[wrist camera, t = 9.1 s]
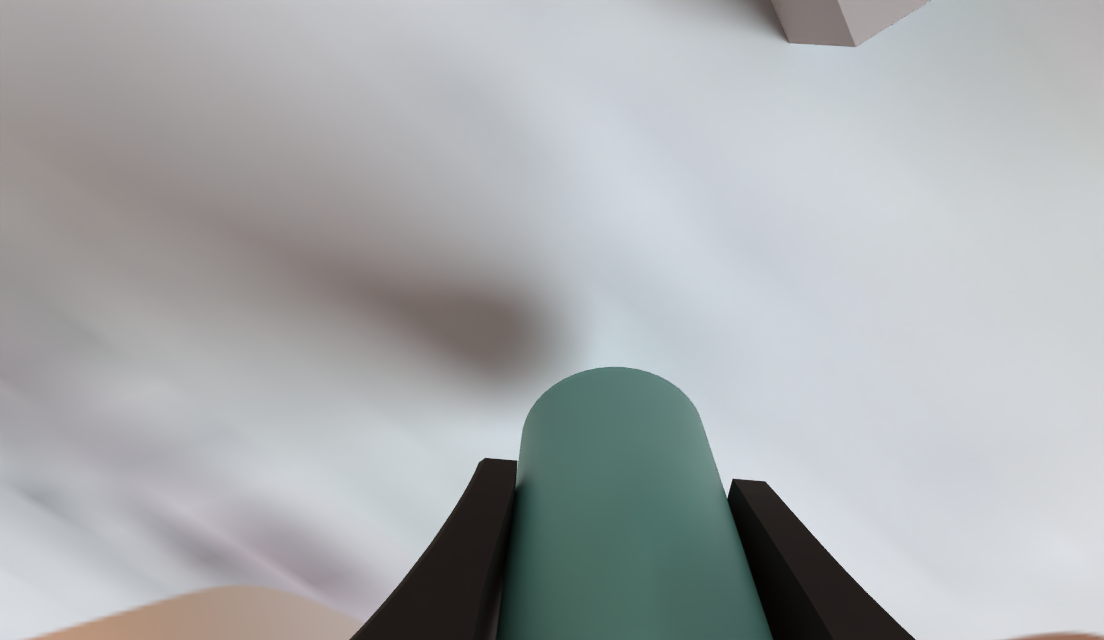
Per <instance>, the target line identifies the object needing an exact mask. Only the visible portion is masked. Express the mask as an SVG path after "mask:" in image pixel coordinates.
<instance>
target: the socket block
mask: <svg viewBox="0 0 1104 640" xmlns="http://www.w3.org/2000/svg"><path fill="white" fill-rule="evenodd" d="M770 1H771V3H772V5H773V8H774V10H775V12H776V14H777V17H778V19H779V21H780V23H781V26H782V28H783V30H784V32H785V35H786V37H787V39H788V42H789V43H797V44H814V45H832V46H850V47H857V46H858V45H860V44H861V43H863V42H865V41H866V40H868V39H869V38H871V37H873V36H874V35H876V34H877V33H879V32H881V31H882V30H884V29H885V28H887V27H889V26H890V25H892V24H893V23H895V22H897V21H898V20H900V19H902V18H903V17H905V16H906V15H908V14H910V13H911V12H913V11H914V10H916V9H918V8H919V7H921V6H922V5H924V4H926V3H927V2H929V1H930V0H770Z"/></svg>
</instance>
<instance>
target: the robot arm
mask: <svg viewBox="0 0 1104 640" xmlns="http://www.w3.org/2000/svg"><path fill="white" fill-rule="evenodd" d="M516 475H517V461H515V460H503V459H491V458H485V459H483V460H482V461H480V462H479V464H478V466H477V468H476V471H475V473H474V475H473V477H472V479H471V481H470V482H469V484H468V486H467V488H466V490H465V491H464V493H463V495H462V497H461V498H460V500H459V501H458V503H457V505H456V506H455V508H454V510H453V511H452V513H451V514H450V516H449V517H448V519H447V520H446V522H445V523H444V525H443V526H442V528H441V529H440V531H439V532H438V534H437V535H436V537H435V538H434V539H433V541H432V542H431V544H430V545H429V546H428V548H427V549H426V550H425V552H424V553H423V554H422V556H421V557H420V558H419V559H418V561H417V562H416V563H415V565H414V566H413V567H412V569H411V570H410V571H409V573H408V574H407V575H406V576H405V578H404V579H403V580H402V581H401V583H400V584H399V585H398V586H397V588H396V589H395V590H394V591H393V592H392V594H391V595H390V596H389V597H388V598H387V599H386V601H385V602H384V603H383V604H382V605H381V606H380V607H379V609H378V610H377V611H376V612H375V613H374V614H373V615H372V616H371V617H370V619H369V620H368V621H367V622H366V623H365V624H364V625H363V626H362V627H361V628H360V629H359V631H357V633H356V634H355V635H354V636H353V637H352V638H351V639H350V640H496V633H497V625H498V617H499V609H500V602H501V594H502V586H503V578H504V570H505V563H506V555H507V548H508V541H509V535H510V530H511V522H512V514H513V506H514V498H515V490H516ZM727 500H728V503H729V506H730V510H731V513H732V516H733V519H734V522H735V525H736V528H737V531H738V534H739V537H740V540H741V543H742V546H743V549H744V552H745V555H746V558H747V561H748V564H749V568H750V571H751V574H752V577H753V580H754V583H755V586H756V589H757V592H758V595H759V598H760V601H761V604H762V607H763V610H764V613H765V616H766V619H767V622H768V625H769V629H770V632H771V635H772V638H773V640H915V639H914V638H913V637H912V636H911V635H910V634H909V633H908V632H907V631H906V630H905V629H904V628H902V627H901V626H900V625H899V624H898V623H897V622H896V621H895V620H894V619H893V618H892V617H891V616H890V615H889V614H888V613H887V612H886V611H885V610H884V609H883V608H882V607H881V606H880V605H879V604H878V603H877V602H876V601H875V600H874V599H873V598H872V597H871V596H870V595H869V594H868V593H867V592H866V591H865V590H864V589H863V588H862V587H861V586H860V585H859V584H858V583H857V582H856V581H855V580H854V579H853V578H852V577H851V576H850V575H849V574H848V573H847V572H846V571H845V570H844V568H843V567H842V566H841V565H840V564H839V563H838V562H837V561H836V560H835V559H834V558H833V557H832V556H831V554H830V553H829V552H828V551H827V550H826V549H825V548H824V547H823V546H822V545H821V544H820V542H819V541H818V540H817V539H816V538H815V537H814V536H813V535H812V534H811V532H810V531H809V530H808V529H807V528H806V527H805V526H804V525H803V523H802V522H801V521H800V520H799V519H798V518H797V517H796V515H795V514H794V513H793V512H792V511H791V510H790V509H789V508H788V506H787V505H786V504H785V503H784V502H783V501H782V500H781V498H780V497H779V496H778V495H777V494H776V493H775V492H774V491H773V489H772V488H771V487H770V486H769V485H768V484H767V483H766V482H765V481H753V480H741V479H733V480H732V483H731V487H730V491H729V494H728V498H727Z"/></svg>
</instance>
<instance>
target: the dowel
mask: <svg viewBox="0 0 1104 640" xmlns="http://www.w3.org/2000/svg"><path fill="white" fill-rule="evenodd" d="M496 640H773V638H772V635H771V632H770V629H769V625H768V622H767V619H766V616H765V613H764V610H763V607H762V604H761V601H760V598H759V595H758V592H757V589H756V586H755V583H754V580H753V577H752V574H751V571H750V568H749V564H748V561H747V558H746V555H745V552H744V549H743V546H742V543H741V540H740V537H739V534H738V531H737V528H736V525H735V522H734V519H733V516H732V513H731V510H730V506H729V503H728V500H727V497H726V494H725V491H724V488H723V485H722V482H721V479H720V476H719V473H718V470H717V467H716V464H715V461H714V458H713V455H712V452H711V449H710V445H709V442H708V439H707V436H706V433H705V430H704V427H703V424H702V421H701V418H700V416H699V413H698V412H697V410H696V408H695V406H694V405H693V403H692V402H691V401H690V399H689V398H688V397H687V396H686V395H685V394H684V393H683V392H682V391H681V390H680V389H679V388H677V387H676V386H675V385H673V384H672V383H671V382H669V381H667V380H665V379H663V378H661V377H659V376H657V375H654V374H652V373H649V372H646V371H642V370H638V369H632V368H625V367H605V368H596V369H591V370H587V371H583V372H580V373H577V374H574V375H572V376H570V377H568V378H565V379H563V380H562V381H560V382H558V383H557V384H555V385H553V386H552V387H551V388H550V389H548V390H547V391H546V392H545V393H544V394H543V395H542V396H541V397H540V398H539V399H538V400H537V401H536V403H535V404H534V405H533V407H532V408H531V410H530V412H529V414H528V416H527V418H526V420H525V423H524V427H523V431H522V438H521V446H520V453H519V461H518V469H517V477H516V490H515V498H514V506H513V514H512V522H511V530H510V535H509V541H508V548H507V555H506V563H505V570H504V578H503V586H502V594H501V602H500V609H499V617H498V625H497V633H496Z"/></svg>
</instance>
